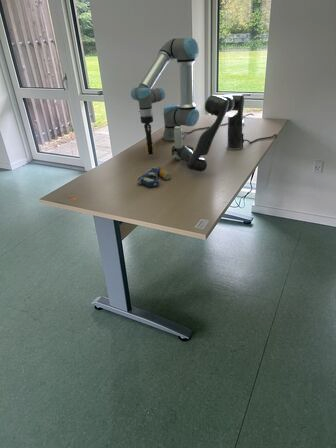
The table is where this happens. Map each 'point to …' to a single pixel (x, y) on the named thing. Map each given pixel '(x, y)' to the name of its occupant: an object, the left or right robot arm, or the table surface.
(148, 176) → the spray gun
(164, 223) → the table surface
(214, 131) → the right robot arm
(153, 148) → the lid
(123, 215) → the table surface
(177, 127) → the white cylinder
